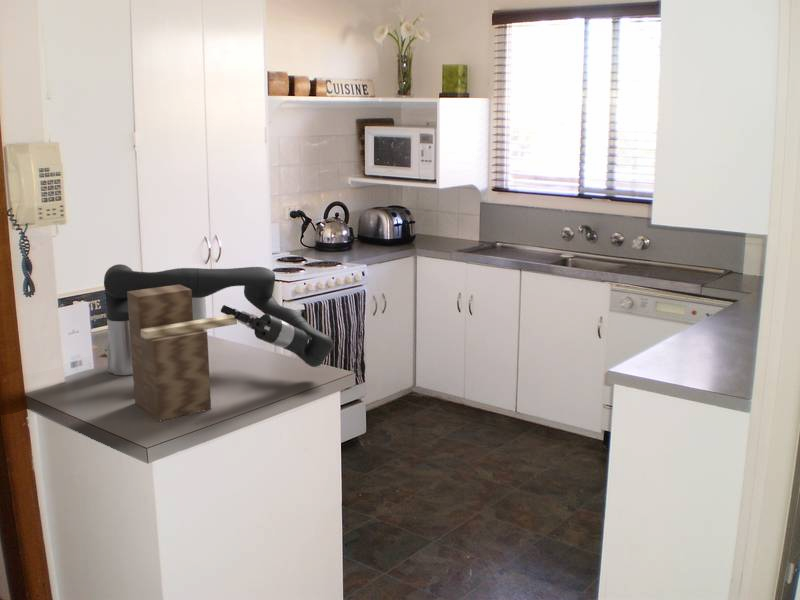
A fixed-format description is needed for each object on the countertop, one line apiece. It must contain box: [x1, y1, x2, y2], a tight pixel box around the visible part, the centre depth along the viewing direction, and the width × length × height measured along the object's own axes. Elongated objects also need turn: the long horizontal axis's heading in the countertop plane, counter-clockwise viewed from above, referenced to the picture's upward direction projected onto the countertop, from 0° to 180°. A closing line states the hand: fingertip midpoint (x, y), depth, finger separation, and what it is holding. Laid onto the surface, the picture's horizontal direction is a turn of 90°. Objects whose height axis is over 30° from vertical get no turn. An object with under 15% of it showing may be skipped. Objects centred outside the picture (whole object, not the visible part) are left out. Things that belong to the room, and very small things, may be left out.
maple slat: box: [140, 314, 238, 339], centre depth 230 cm, size 26×4×2 cm, turn 127°
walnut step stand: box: [127, 284, 212, 422], centre depth 232 cm, size 15×17×32 cm
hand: (229, 311), depth 236 cm, fingers open, 8 cm apart
